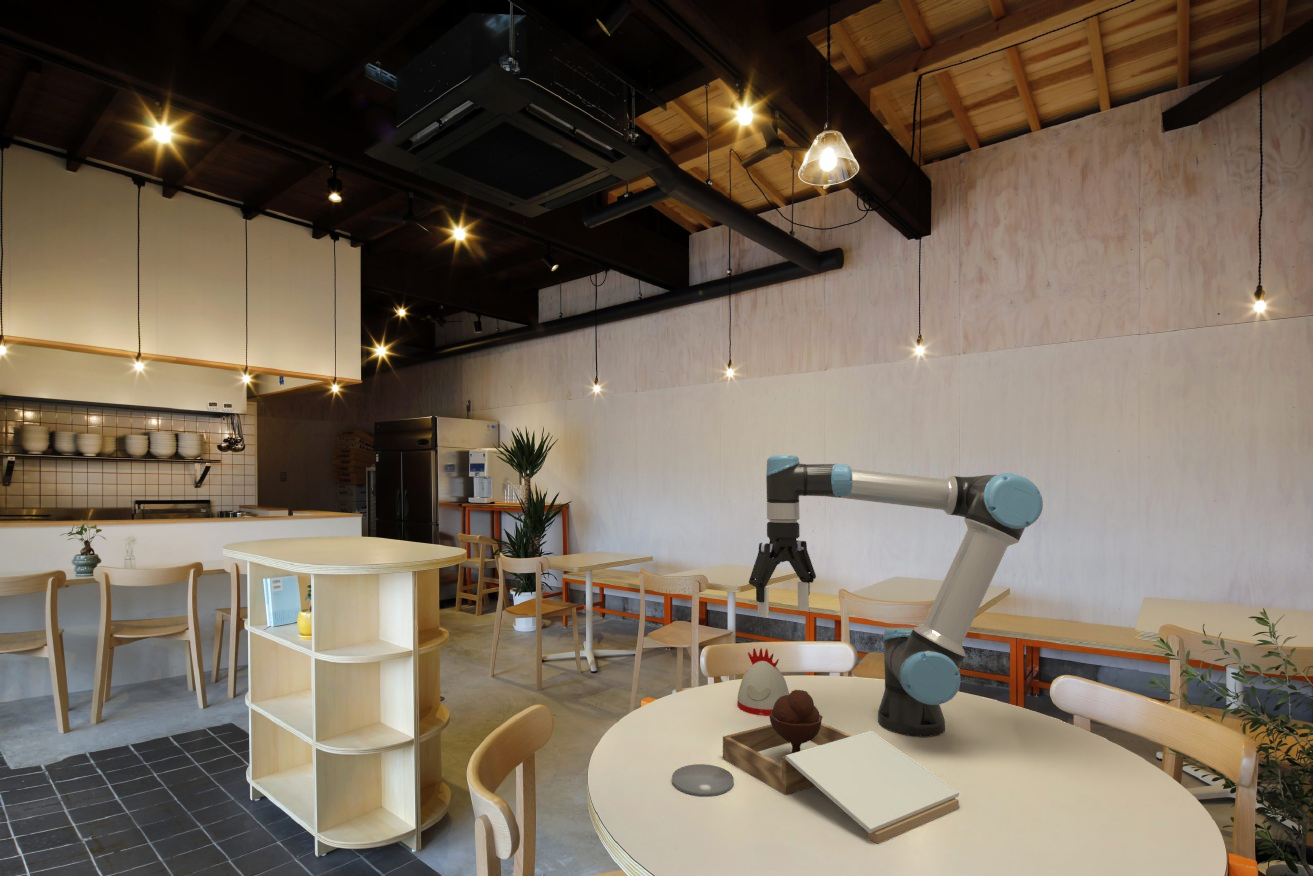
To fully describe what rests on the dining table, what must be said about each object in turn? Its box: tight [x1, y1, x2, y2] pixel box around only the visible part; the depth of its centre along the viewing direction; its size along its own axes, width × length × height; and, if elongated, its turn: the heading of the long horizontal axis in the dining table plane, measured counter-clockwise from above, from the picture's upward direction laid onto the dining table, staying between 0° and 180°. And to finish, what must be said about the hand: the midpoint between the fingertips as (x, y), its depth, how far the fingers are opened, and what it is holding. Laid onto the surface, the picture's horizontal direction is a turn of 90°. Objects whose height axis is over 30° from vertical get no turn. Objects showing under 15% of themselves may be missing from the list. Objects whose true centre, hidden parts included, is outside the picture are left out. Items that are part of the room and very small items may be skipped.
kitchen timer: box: [737, 647, 790, 717], centre depth 169 cm, size 14×14×15 cm
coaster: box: [671, 763, 735, 797], centre depth 125 cm, size 12×12×1 cm
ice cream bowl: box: [768, 689, 823, 754], centre depth 135 cm, size 11×11×15 cm
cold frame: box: [722, 722, 853, 796], centre depth 135 cm, size 19×24×6 cm
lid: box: [785, 730, 960, 845], centre depth 118 cm, size 20×24×7 cm
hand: (783, 613), depth 149 cm, fingers open, 13 cm apart
